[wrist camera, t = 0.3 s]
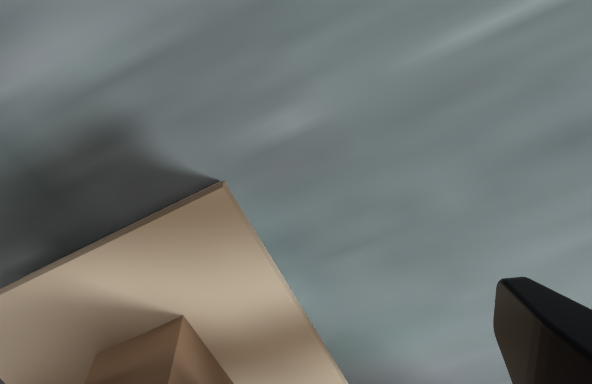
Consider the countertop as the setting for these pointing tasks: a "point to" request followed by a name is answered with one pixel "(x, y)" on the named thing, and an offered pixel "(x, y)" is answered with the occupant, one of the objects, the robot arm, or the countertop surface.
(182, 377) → the lid
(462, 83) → the countertop surface
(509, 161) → the countertop surface
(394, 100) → the countertop surface
